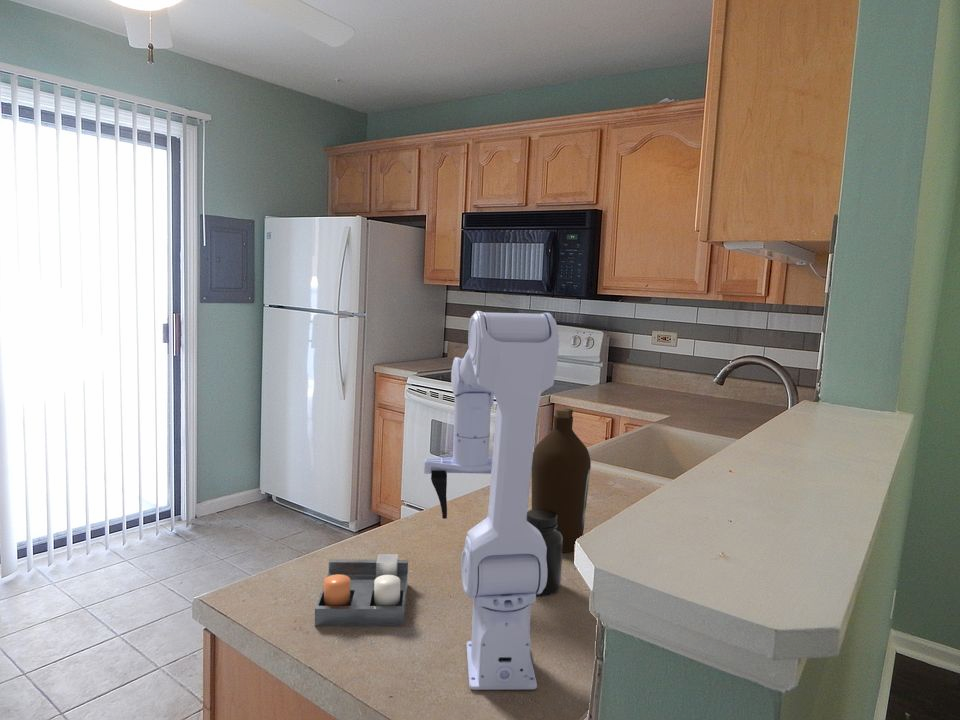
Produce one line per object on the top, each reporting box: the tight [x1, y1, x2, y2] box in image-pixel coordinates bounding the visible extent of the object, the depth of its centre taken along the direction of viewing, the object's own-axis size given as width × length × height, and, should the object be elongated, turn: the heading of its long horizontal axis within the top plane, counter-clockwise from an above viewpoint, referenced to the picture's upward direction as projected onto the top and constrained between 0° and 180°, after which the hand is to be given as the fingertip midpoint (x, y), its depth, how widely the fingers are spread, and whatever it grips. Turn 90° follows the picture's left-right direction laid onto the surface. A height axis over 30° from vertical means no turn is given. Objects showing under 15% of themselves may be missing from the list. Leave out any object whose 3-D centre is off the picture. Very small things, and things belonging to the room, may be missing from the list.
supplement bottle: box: [526, 508, 563, 597], centre depth 101 cm, size 7×7×12 cm
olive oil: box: [531, 406, 592, 553], centre depth 117 cm, size 11×11×25 cm
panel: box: [314, 558, 409, 627], centre depth 94 cm, size 12×12×4 cm
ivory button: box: [374, 575, 400, 606], centre depth 91 cm, size 4×4×3 cm
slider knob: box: [376, 553, 399, 578], centre depth 97 cm, size 3×3×3 cm
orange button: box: [323, 574, 350, 606], centre depth 91 cm, size 4×4×3 cm
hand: (468, 516), depth 104 cm, fingers open, 7 cm apart
